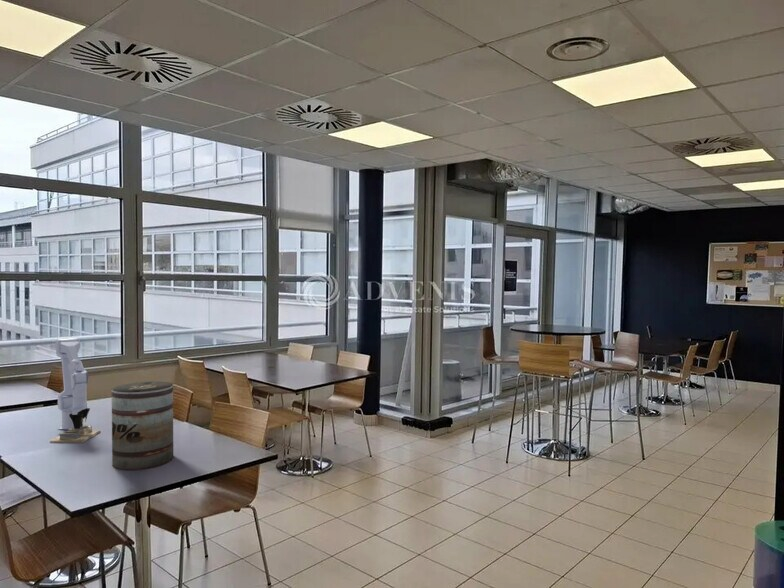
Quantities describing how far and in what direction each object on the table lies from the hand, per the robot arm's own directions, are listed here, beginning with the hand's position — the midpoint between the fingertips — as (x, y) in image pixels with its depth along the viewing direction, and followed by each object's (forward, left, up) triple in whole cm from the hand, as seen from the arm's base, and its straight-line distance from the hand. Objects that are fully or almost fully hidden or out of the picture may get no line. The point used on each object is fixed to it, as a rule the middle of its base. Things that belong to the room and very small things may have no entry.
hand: (80, 426), depth 252 cm
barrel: (+37, +45, -4) cm, 58 cm away
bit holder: (+4, 0, -4) cm, 5 cm away
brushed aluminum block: (0, 0, -3) cm, 3 cm away
